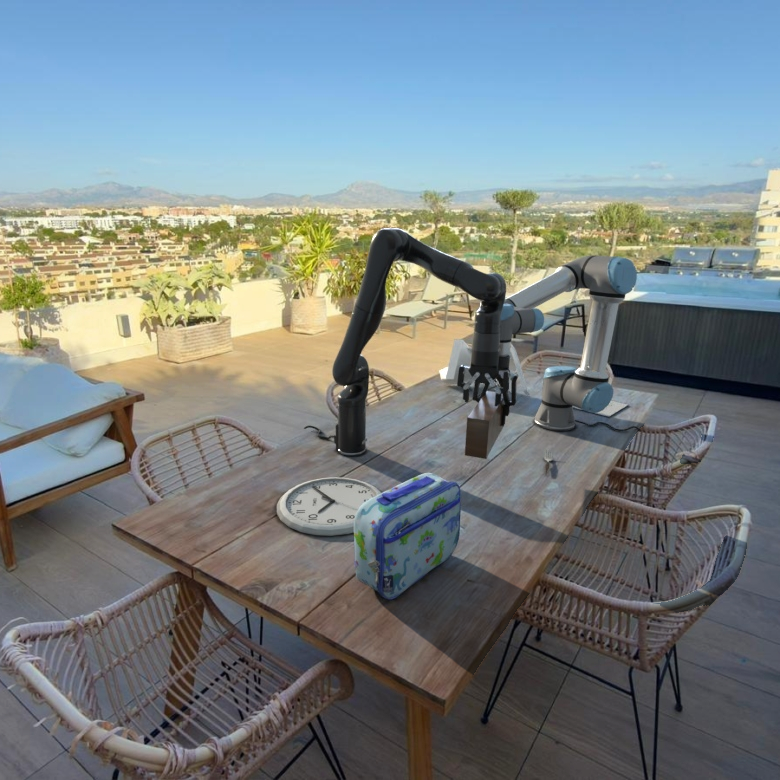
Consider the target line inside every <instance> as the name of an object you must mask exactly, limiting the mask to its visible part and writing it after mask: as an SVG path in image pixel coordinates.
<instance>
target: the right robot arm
mask: <svg viewBox="0 0 780 780" xmlns="http://www.w3.org/2000/svg"><path fill="white" fill-rule="evenodd" d="M637 274H638V273H637V267H636V266H635V264H634V262H633V261H632V260H631V259H630V258H627V257H621V256H608V255H595V254H594V255H593V254H590V255H585V256H582V257H579V258H576V259H573V260H571V261H569V262H566V263H565V264H563V265H561V266H559V267H557V268H556V269H555V272H554V273H552V274H550V275H548V276H546V277H544V278H542V279H540V280H539V281H537V282H534V283H533V284H531V285H529V286H527V287H525V288H523V289H521V290H520V291H518V292H516V293H514V294H512V295H510V296H508V297H505V301H504V305H503V309H502V313H501V324H500V349H499V361H498V369H499V370H502V371H506V370H509V376H510V380H511V381H512V382H511V392H510V395H509V391H508V392H507V393H502V394H503V397H504V402H505V404H504V406H503V412H502V423H501V426H505V425H506V419H507V417H509V415H510V409H511V407H512V406H513V407H515V406H516V404H517V398H516V395H517V381H518V379H519V376H518V373H513V372H511V370H510V361H511V360H510V356H509V355H508V354H510V351H511V344H512V339H513V335H516V334H517V335H518V334H529V333H530V334H531V333H535V332H539V331H540V330H541V329H542V328H543V327H544V324H545V316H544V314H543V311H542V310H541V309H539V308H538V307H539V306H540V305H543V304H545V303H546V302H549V301H550V300H552V299H554V298H556V297H558V296H559V295H562V294H563V293H571V292H573V291H575V290H577V289H579V290H580V289H584V290H585V289H587V290H589V292H588V296H589V298H590V299H591V307H590V312H589V316H588V323H587V329H586V333H585V338H584V344H583V350H582V355H581V361H580V366H579V367H578V368H577V367H574V366H567V365H557V366H550V367H547V368H546V369H545V370H544V375H543V378H542V379H543V381H542V392H541V402H540V405H539V407H538V410H537V411H536V413H535V417H534V424H535V425H536V426H537V427H539V428H542V429H544V430H549V431H556V432H567V431H572V430H574V429H575V428H576V423H577V424H582V425H584V426H587V427H595V426H597V425H604V426H607V427H608V428H610V429H611V430H614V431H617V432H626V431H629V430H633V429H636V430H638V431H641V429H640V428H639V427H638V426H636V425H632V426H629V427H627V428H616V427H614V426H612V425H611V424H610V423H607V422H603V421H596V422H594V423H592V424H591V423H586V422H584V421H581V420H578V419H576V418H575V417H576V416H575V413H574V407H578V408H580V409H582V410H581V411H584V412H588V411H589V412H588V413H593V414H596V413H597V412H600V411H602V410H604V409H605V408H606V407H607V406H608V404H609V403H610V401H612V399H613V396H614V388H613V385H611V383H609V379H610V375H609V374H608V373H607V365H608V360H609V355H610V351H611V345H612V340H613V336H614V330H615V327H616V326H615V325H616V321H617V316H618V309H619V305H620V303H621V302H623V301H624V300H625V299H626V295H627V294H630V293H631V292H632V291H633V288H635V286H636V283H637V280H638V275H637ZM496 379H497V381H498V382H499V385H500V386H501V388H503V378H501V375H498V376H497V377H496ZM494 381H495V380H494ZM480 385H481V383H480V384H479V383H477V382H475V383H474V386H473V392H472V401H475V402H477V404H478V403H479V401H480V400H481V399H482V397H483V396H484V395H485V394H486V392H487V391H489V387H490V386H491V384H488V385H487V384H484V385H483V388H482V390H481V392H479V391H480ZM479 393H480V395H479ZM580 409H579V410H580Z"/></svg>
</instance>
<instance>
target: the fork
mask: <svg viewBox="0 0 780 780" xmlns="http://www.w3.org/2000/svg"><path fill="white" fill-rule="evenodd" d="M547 450H548V449H546V451H545V455H544V461H546V463H545V468H544V469H545V474H547V473H548V471H549V469H550V462H553V460H554V452H552V451H550V450H548V451H547ZM549 451H550V452H549Z"/></svg>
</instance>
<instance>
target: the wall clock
mask: <svg viewBox="0 0 780 780" xmlns="http://www.w3.org/2000/svg"><path fill="white" fill-rule="evenodd" d="M381 493H383V492H382V491H381V490H380V489H379V488H377V487H376V486H374V485H372V484H371V483H369V482H365V481H362V480H359V479H355V478H349V477H338V476H337V477H335V476H333V477H332V476H331V477H322V478H317V479H312V480H307V481H305V482H302V483H299V484H297V485H295V486H293V487H292V488H290V489H288V490H287V491H286V492H285V493H284V494H283V495H281V496H280V498H279V499H278V502H277V503H276V515H277V517H278V518H279V520H280V521H281V522H282V523H283V524H285V525H286V526H287V527H288V528H290V529H293V530H295V531H297V532H299V533H303V534H308V535H312V536H327V537H328V536H329V537H331V536H332V537H333V536H342V535H350V534H352V533H353V534H354V519H355V515H356V513H357V511H358V509H359V508H360V506H361V505H362V504H363V503H364V502H365V501H367V500H369V499H371V498H373V497H375V496H377V495H379V494H381Z"/></svg>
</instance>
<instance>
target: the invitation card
mask: <svg viewBox="0 0 780 780" xmlns="http://www.w3.org/2000/svg"><path fill="white" fill-rule="evenodd" d="M628 406H629V404H627V403H623V402H618V401H614V400H611V401H610V403H609V404H608V406H607V407H606V408H605V409H604V410H602V411H600V412H597V413H595V414H596V415H600V416H604V417H608V418H609V417H611V416H613V415H614V414H616V413H617V412H619V411H621V410H623V409H624V408H626V407H628ZM573 409H575V410H581V411H583V410H582V409H580V408H578V407H575V406H573ZM587 413H590V412H589V411H587Z"/></svg>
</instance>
